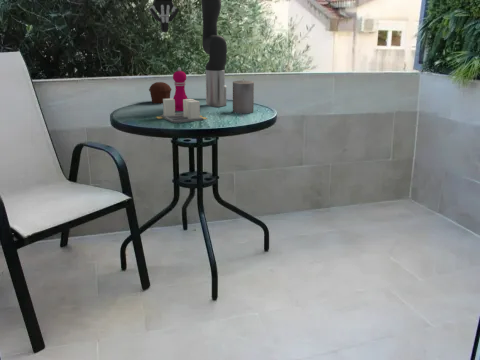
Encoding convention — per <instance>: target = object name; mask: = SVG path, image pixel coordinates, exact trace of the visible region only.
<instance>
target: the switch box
mask: <svg viewBox="0 0 480 360" xmlns="http://www.w3.org/2000/svg"><path fill="white" fill-rule="evenodd" d="M153 118H154V119H155V118H156V120H162V119H164V120H165V121H167V122H168V123H171V124H178V123H186V122H187V123H188V122H199V121H204V120H210V119H208V117H205V116H203V115H201V114H200V118H195V119H188V117H184V113H183V112H177V113H176V112H175V116H164V113H163V114H160V116H155V117H153Z"/></svg>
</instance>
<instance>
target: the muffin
mask: <svg viewBox="0 0 480 360" xmlns="http://www.w3.org/2000/svg"><path fill="white" fill-rule="evenodd" d="M148 91H149V92H150V98H151V102H152V104H156V103H160V104H161V103H163V99H169V98H171V92H172V88H171V86H170V85H169V84H168V83H167V82H164V81H159V82H154V83H153V84H151V85H150V87H149V88H148Z"/></svg>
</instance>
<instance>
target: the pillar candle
mask: <svg viewBox="0 0 480 360" xmlns="http://www.w3.org/2000/svg"><path fill="white" fill-rule="evenodd" d="M254 83H255V82H254V81H252V80H245V79H244V78H243V79H242V80H234V81H232V113H235V114H240V115H241V114H242V113H243V115H244V114H252V113H253V112H254V109H255V108H254V107H255V106H254V104H255V103H254V99H255V98H254V97H255V95H254V94H255V92H254V91H255V88H254V87H255V84H254Z"/></svg>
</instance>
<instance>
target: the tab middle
mask: <svg viewBox="0 0 480 360" xmlns="http://www.w3.org/2000/svg"><path fill="white" fill-rule="evenodd" d="M187 101H195V99H193V98H188V99H183V111H182V113H184V117H188V105H187Z"/></svg>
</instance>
